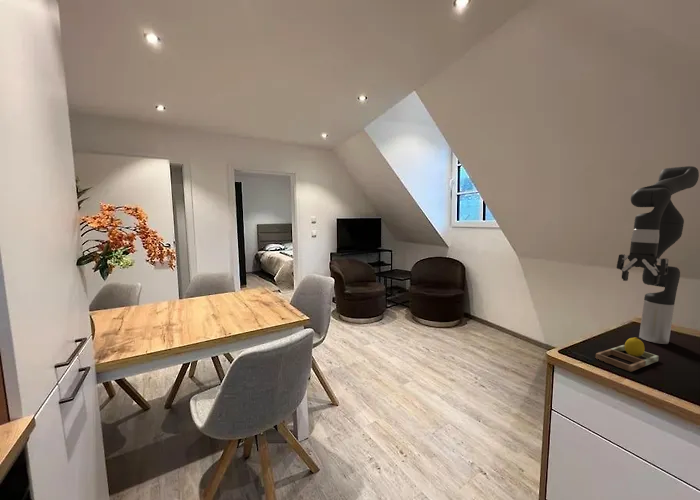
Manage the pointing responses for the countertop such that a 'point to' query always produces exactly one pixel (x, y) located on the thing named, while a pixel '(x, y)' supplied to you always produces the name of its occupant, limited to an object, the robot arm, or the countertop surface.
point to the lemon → (634, 347)
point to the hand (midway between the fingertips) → (639, 282)
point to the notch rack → (626, 358)
